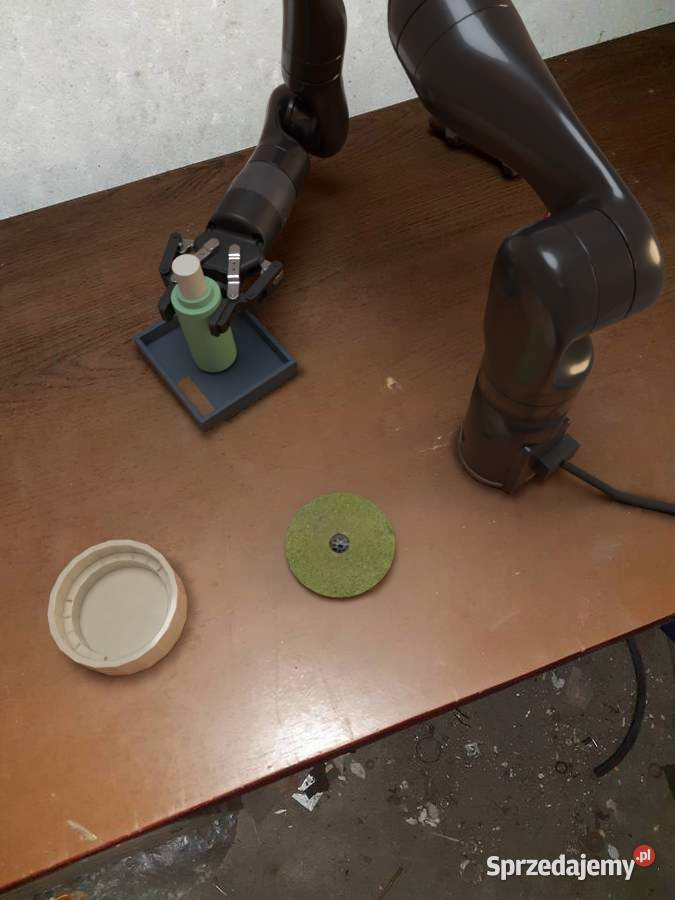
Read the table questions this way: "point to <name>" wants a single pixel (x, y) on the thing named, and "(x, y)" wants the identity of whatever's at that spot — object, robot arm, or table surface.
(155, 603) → the bowl
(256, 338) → the tray
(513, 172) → the bolt
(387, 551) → the mat
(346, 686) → the table surface
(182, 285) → the bottle
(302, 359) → the table surface
